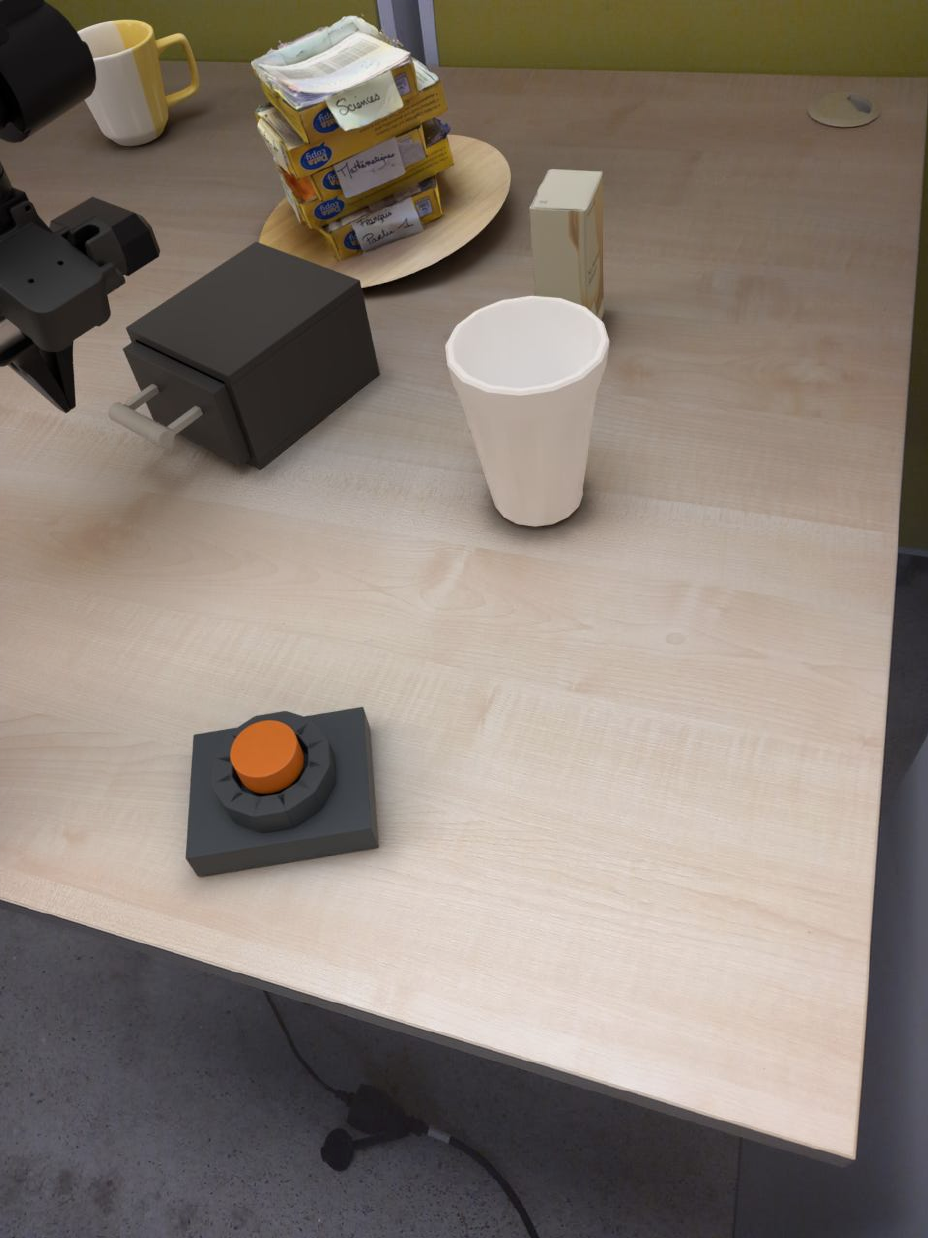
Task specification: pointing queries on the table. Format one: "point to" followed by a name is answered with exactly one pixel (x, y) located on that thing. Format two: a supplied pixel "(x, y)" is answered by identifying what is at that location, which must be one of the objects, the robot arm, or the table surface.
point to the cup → (530, 400)
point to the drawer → (180, 405)
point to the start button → (267, 756)
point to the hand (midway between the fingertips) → (67, 408)
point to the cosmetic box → (569, 238)
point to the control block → (284, 798)
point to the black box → (270, 341)
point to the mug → (132, 80)
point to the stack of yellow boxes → (369, 157)
